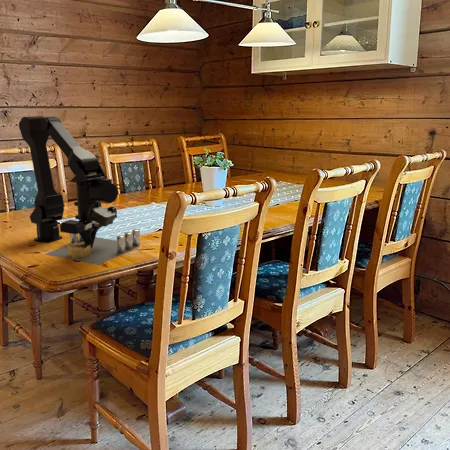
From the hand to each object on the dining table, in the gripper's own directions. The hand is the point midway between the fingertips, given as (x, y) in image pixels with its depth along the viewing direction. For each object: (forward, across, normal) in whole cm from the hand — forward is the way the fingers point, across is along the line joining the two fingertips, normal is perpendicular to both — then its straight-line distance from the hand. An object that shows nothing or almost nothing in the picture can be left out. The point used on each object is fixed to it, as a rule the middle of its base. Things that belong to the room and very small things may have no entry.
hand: (90, 248), depth 150 cm
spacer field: (+1, +8, 0) cm, 8 cm away
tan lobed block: (+1, -5, 0) cm, 5 cm away
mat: (+1, +2, 0) cm, 2 cm away
